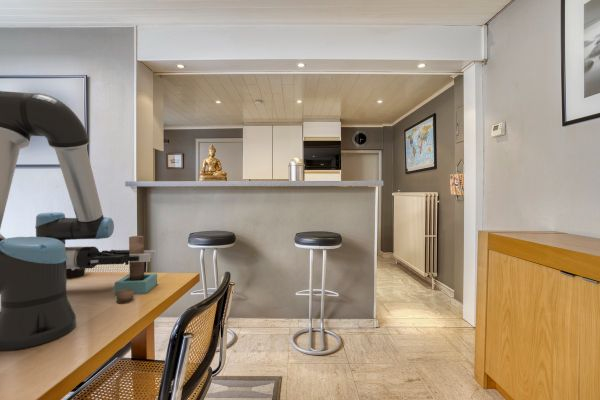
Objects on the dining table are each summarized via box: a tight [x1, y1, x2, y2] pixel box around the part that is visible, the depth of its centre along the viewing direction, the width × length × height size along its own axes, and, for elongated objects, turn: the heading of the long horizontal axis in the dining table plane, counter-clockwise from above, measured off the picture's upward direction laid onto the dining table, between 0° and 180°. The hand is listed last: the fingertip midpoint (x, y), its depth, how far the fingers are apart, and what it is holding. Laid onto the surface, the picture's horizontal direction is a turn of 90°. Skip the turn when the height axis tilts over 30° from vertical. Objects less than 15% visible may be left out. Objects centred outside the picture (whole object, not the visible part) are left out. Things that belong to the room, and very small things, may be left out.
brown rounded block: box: [116, 289, 134, 304], centre depth 90 cm, size 4×4×3 cm
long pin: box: [128, 235, 145, 281], centre depth 101 cm, size 4×4×17 cm
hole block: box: [114, 273, 158, 296], centre depth 101 cm, size 10×10×4 cm
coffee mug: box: [66, 268, 86, 279], centre depth 115 cm, size 12×9×10 cm
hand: (152, 256), depth 101 cm, fingers closed on long pin, 4 cm apart
